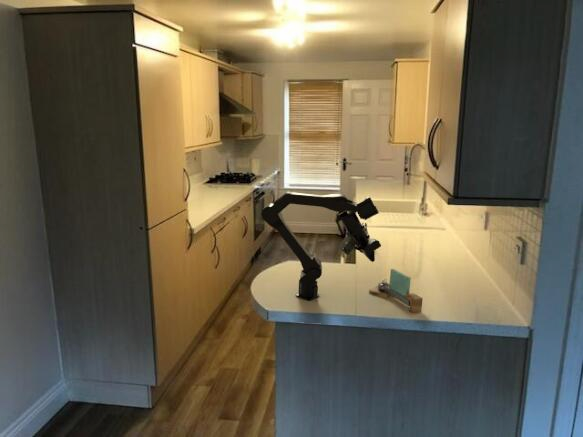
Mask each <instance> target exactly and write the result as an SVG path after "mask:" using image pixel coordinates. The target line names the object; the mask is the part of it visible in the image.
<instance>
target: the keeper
mask: <svg viewBox="0 0 583 437" xmlns="http://www.w3.org/2000/svg"><path fill="white" fill-rule="evenodd" d="M405 298H406V299H408V300H410V306H409V311H408V312H410V313H411V314H413V315H414V314H419V313H422V311H423V310H422V309H423V308H422V307H423V299H424V298H423V297H421V296H419V294H416V293H414V292H413V293H409V294H405Z"/></svg>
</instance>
